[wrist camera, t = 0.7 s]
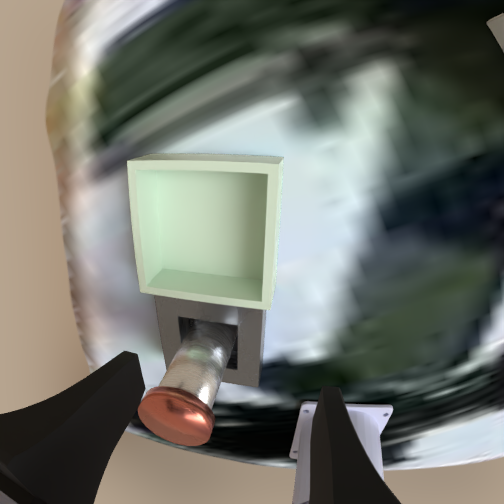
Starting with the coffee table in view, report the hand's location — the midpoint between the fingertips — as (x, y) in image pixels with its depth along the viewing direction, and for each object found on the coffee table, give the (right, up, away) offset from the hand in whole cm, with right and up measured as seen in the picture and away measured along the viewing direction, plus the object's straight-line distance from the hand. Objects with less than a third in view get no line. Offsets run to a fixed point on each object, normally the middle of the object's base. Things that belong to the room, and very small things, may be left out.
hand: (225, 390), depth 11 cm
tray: (-1, +7, +8) cm, 11 cm away
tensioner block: (-2, 0, +11) cm, 11 cm away
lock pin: (-2, 0, +11) cm, 11 cm away
